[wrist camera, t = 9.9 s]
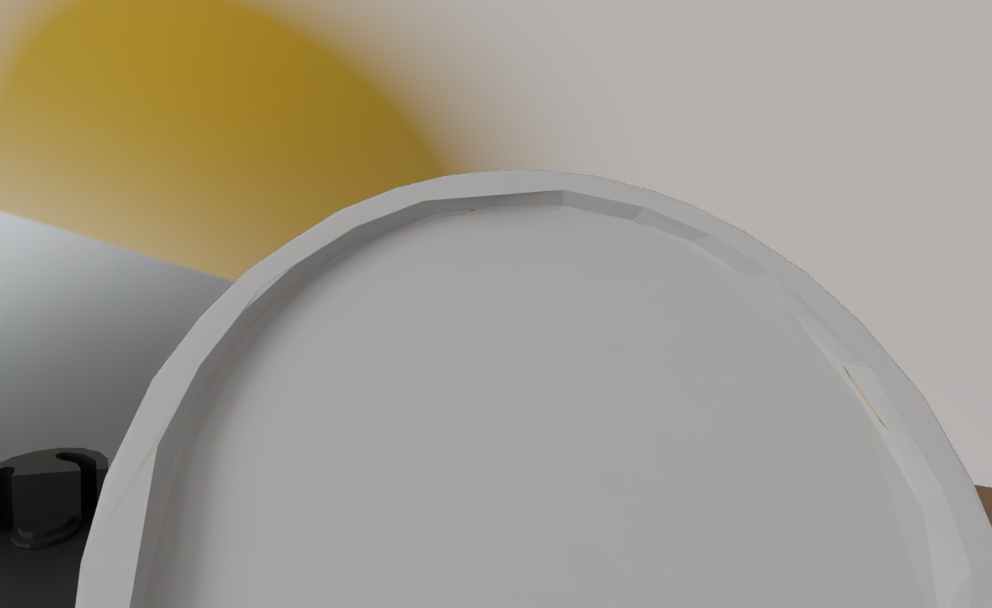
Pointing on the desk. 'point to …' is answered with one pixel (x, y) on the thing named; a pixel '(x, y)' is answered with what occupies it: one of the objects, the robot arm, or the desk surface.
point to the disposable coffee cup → (533, 424)
